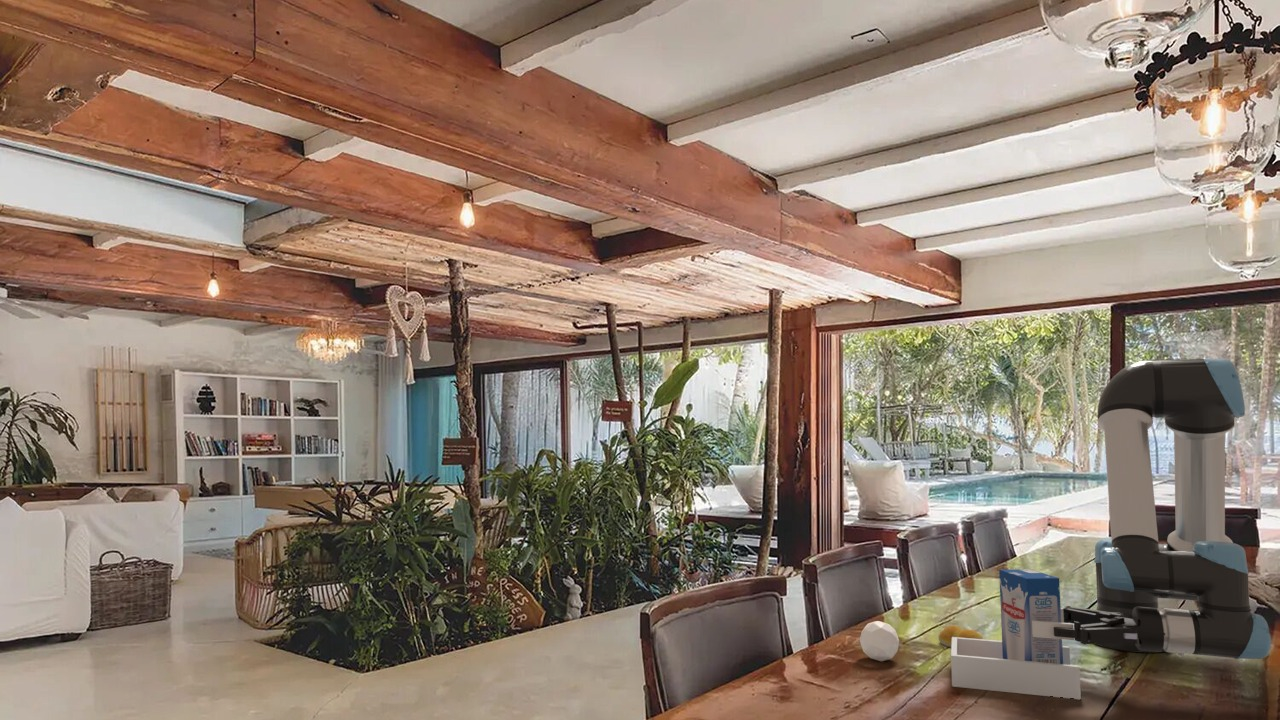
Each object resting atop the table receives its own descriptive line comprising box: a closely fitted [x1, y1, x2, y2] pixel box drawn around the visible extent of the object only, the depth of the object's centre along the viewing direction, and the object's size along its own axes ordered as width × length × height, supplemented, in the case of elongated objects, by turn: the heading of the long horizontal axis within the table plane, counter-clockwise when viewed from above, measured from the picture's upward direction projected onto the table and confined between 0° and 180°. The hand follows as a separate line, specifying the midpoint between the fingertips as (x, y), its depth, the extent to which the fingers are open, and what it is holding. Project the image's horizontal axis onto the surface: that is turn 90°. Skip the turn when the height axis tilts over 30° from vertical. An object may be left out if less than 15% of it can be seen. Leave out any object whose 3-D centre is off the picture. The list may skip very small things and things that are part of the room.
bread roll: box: [938, 625, 984, 648], centre depth 181 cm, size 8×9×4 cm
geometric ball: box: [859, 620, 900, 662], centre depth 169 cm, size 8×8×8 cm
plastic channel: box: [950, 637, 1082, 700], centre depth 154 cm, size 21×15×6 cm
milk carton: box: [998, 568, 1063, 664], centre depth 153 cm, size 10×6×20 cm, turn 4°
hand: (1028, 620), depth 153 cm, fingers open, 13 cm apart
